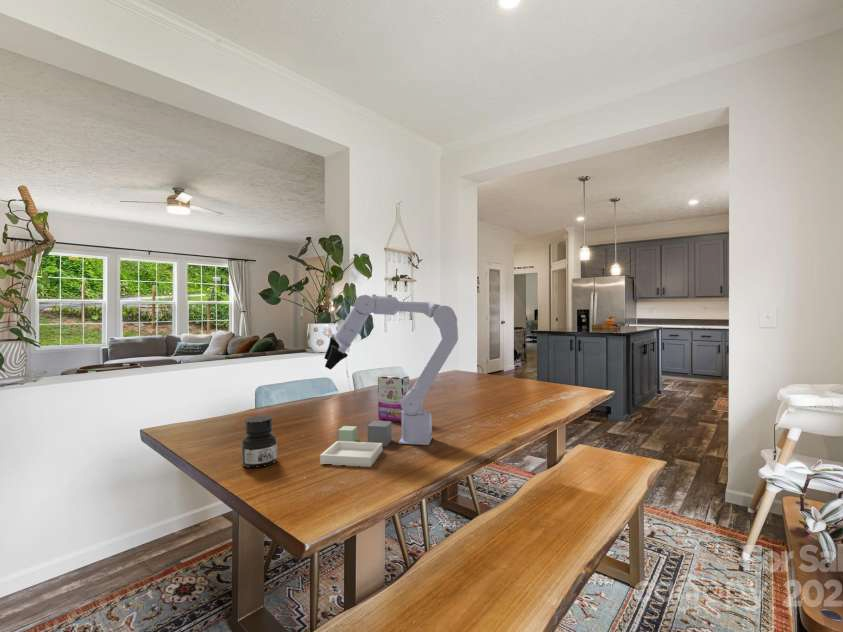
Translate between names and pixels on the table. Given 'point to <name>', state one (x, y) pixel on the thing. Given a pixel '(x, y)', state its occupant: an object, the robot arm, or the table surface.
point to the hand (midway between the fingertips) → (327, 363)
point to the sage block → (348, 433)
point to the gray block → (380, 432)
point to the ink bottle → (259, 442)
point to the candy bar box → (391, 396)
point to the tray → (352, 453)
